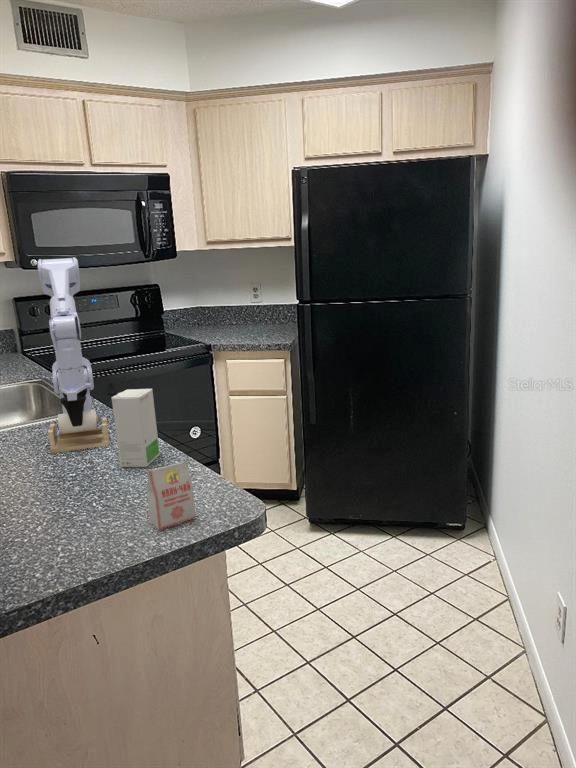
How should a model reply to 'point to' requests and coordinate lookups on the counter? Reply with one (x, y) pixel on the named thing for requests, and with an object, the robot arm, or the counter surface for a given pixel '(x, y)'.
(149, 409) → the skincare box
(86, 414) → the paper roll
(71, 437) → the holder
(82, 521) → the counter surface
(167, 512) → the tea bag
